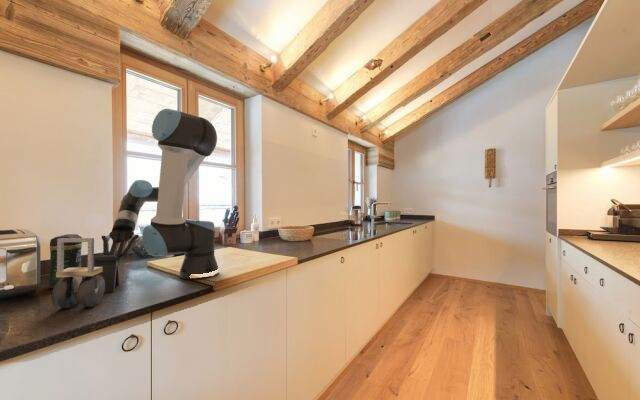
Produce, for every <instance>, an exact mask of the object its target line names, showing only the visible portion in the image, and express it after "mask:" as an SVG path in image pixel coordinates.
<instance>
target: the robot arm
mask: <svg viewBox="0 0 640 400" xmlns="http://www.w3.org/2000/svg"><path fill="white" fill-rule="evenodd" d="M151 125H152V126H151V133H152V137H153V139H154V140H156V141H158V142H157V146H158V148H159V149H160V150H161V158H160V159H161V160H160V171H159V181H158V184H152V183H151V182H150V181H149V180H146V179H142V178H141V179H136V180H135V181H133V183H132V184H131V185H130V187H129V188H128V191H127V193H126V194H125V195H123V196H122V199H121V201H120V205H119V209H118V211H117V214H116V217H115V220H114V223H113V226H112V229H111V232H110V233H109V234H108V235H106V236H105V235H101V237H100V238H101V240H102V244H103V247H102V250H103V251H102V252H103V255H118V266H119V267H120V264H121V262H122V259H123V258H125V259H127V258H128V257H129V255H130V253H131V252H132V250H133V248H135V247H134V246H135V245H136V243H137V242H138V241H140V240H141V239H140V236H139V234H135V229H136V226H137V223H138V218H139V213H140V211H141V209H142V207H143V206H144V204H145V203H147V202H148V203H149V202H150V203H156V202H157V203H156V214H155V215H154V216H153V217H152V218H151V219H150V224H148V225H146V226H145V227H144V228H143V230H142V233H141V236H142V237H141V238H142V242H143V246H144V248H145V251H146V252H147V253H148V254H149V256H152V257H166V256H171V255H172V256H173V255H176V254H183V253H184V257H183V261H182V263H181V267H180V269H179V277H180V278H181V279H183V280H191V279H190V277H189V276H190V275H191V274H203V273H209V272H212V271H215V270H217V269H218V268H219V265H218V262H217V260H216V256H215V241H216V240H215V234H216V230H215V228H216V227H215V223H214V222H213V221H211V220H210V221H209V220H198V219H197V220H196V219H185V218H184V217H183V209H184V200H185V188H186V185H187V184H188V182H189V180H190V179H191V178H192V177H193V175H194V174H195V173H196V171H197V169H198V168H199V167H200V166H201V164H202V163H203V161H205V159H206V157H210V156H211V155H212V153H213V152H214V150H215V149H216V146H217V142H218V134H217V131H216V128H215V126H214V125H213V123H212V122H210V121H209V120H208V119H206V118H204V117H201V116H197V115H194V114H190V113H188V112H184V111H181V110H177V109H171V108H163V109H161V110H160V111H158V113H157V114H156V115H155V117H154V118H153V121H152V124H151ZM110 240H111V241H112V244H111V247H110V246H109V242H110ZM109 248H110V249H109Z"/></svg>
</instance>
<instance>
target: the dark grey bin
mask: <svg viewBox="0 0 640 400" xmlns="http://www.w3.org/2000/svg"><path fill="white" fill-rule="evenodd" d="M94 267H103V272H101V273H98V274H96V275H101V276H102V277H103V278H104V281H105V291H104V294H108V293H109V294H110V293H115V292H116V290H117V289H118V288H119V287H120V285H121V278H120V268H119V267H120V265H119V266H118V255H117V254H115V255H97V256H94Z"/></svg>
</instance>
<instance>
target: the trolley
mask: <svg viewBox="0 0 640 400" xmlns="http://www.w3.org/2000/svg"><path fill="white" fill-rule="evenodd" d="M64 242H82V243H87V267H88V271H93V270H94V267H95V238H94V237H82V238H60V239H57V272H62V271H64ZM104 291H105V281H104V278H103V277H102V276H101V275H94V276H82V277H62V278H61V279H59V280H58V282H57V283H56V284H55V286H54V288H52V293H51V304H52V305H53V306H54V308H56V309H59V310H60V309H61V310H62V309H71V308H73V307H76V306H77V304H78V306H79V307H81V308H91V307H92V308H93V307H97V306H98V305H99V303H101V301H102V299H103V297H104V294H105V293H104Z"/></svg>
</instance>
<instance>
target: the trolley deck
mask: <svg viewBox="0 0 640 400" xmlns="http://www.w3.org/2000/svg"><path fill="white" fill-rule="evenodd" d="M101 272H103V267H95V266H94V270H93V271H88V266H86V267H83V266H81V267H78V268H67V269H64V271H62V272H56V277H82V276H94V275H96V274H98V273H101Z"/></svg>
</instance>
